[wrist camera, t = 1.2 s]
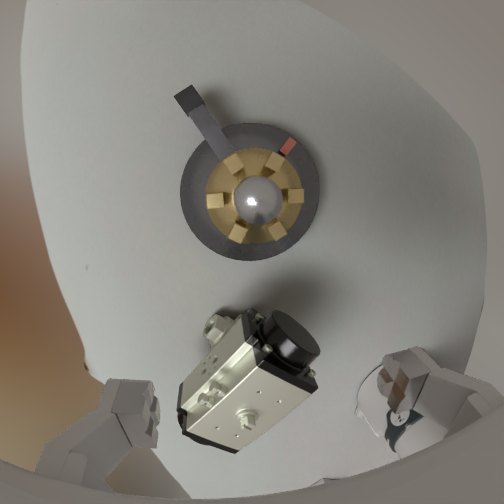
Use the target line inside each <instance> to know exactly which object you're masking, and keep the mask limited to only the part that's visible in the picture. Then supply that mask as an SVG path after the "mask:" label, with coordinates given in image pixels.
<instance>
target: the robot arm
mask: <svg viewBox="0 0 504 504" xmlns="http://www.w3.org/2000/svg"><path fill="white" fill-rule="evenodd" d="M381 364H382V365H381V366H380V367H378V368H377V369H376V370H374V371H373V372H372V373H371V374H370V375H369V376H368V377H367V379H366V380H365V381H364V382H363V384H362V385H361V387H360V389H359V392H358V396H357V400H358V407H357V409H356V411H355V415H356V416H357V417H358V418H364V419H366V421H367V422H368V424H369V426H370V427H371V429H372V430H373V432H374V433H375V435H377V436H381V437H385V439H386V441H387V443H388V445H389V447H390V448H391V449H392V450H393V452H396V453H397V455H398V456H399V458H400V460H397V461H395V462H392V463H390V464H387V465H384V466H381V467H379V468H376V469H373V470H370V471H367V472H364V473H361V474H358V475H354V476H351V477H348V478H344V479H341V480H337V481H333V482H329V483H325V484H321V485H317V486H312V487H308V488H303V489H298V490H292V491H287V492H281V493H274V494H267V495H259V496H250V497H238V498H222V499H172V498H155V497H145V496H136V495H128V494H120V493H115V492H114V491H113V490H112V489H111V487H110V486H109V485H108V484H107V483H106V481H105V479H106V478H107V477H108V475H109V474H110V473H111V472H112V471H113V470H114V469H115V468H116V467H117V465H118V464H119V463H120V462H121V461H122V460H123V459H124V458H125V456H126V455H127V454H128V453H129V452H130V451H131V450H132V447H137V448H157V439H158V431H157V429H156V426H157V425H158V424H159V423H160V407H159V402H158V399H157V398H156V397H155V396H154V390H155V389H154V386H153V383H152V381H146V380H128V379H123V380H122V379H111V378H110V379H108V380H107V382H106V384H105V387H104V390H103V392H102V395H101V398H100V400H99V403H98V406H97V409H96V411H91V412H90V413H88V414H87V415H86V416H84V417H83V418H82V419H80V420H79V421H77V422H76V423H74V424H73V425H72V426H70V427H69V428H68V429H66V430H65V431H64V432H62V433H61V434H60V435H58V436H56V437H55V438H53V439H52V440H51V441H50V442H48V443H47V444H45V446H44V449H43V451H42V454H41V456H40V459H39V461H38V464H37V467H36V469H35V472H32V471H29V470H26V469H24V468H21V467H18V466H16V465H13V464H11V463H9V462H6V461H4V460H2V459H0V504H504V397H503V396H502V395H501V394H500V393H499V392H498V391H497V390H496V389H495V388H494V387H493V386H492V385H491V384H490V383H488V382H484V381H481V380H478V379H475V378H473V377H469V376H467V375H464V374H461V373H458V372H455V371H452V370H449V369H447V368H442V369H441V368H440V367H439V366H438V365H437V364H436V362H435V361H434V360H433V359H432V358H431V357H430V356H429V355H428V354H427V353H426V352H425V351H424V350H423V349H422V348H421V347H418V346H416V347H413V348H409V349H407V350H403V351H399V352H395V353H391V354H387V355H385V356H384V358H383V360H382V363H381Z"/></svg>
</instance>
